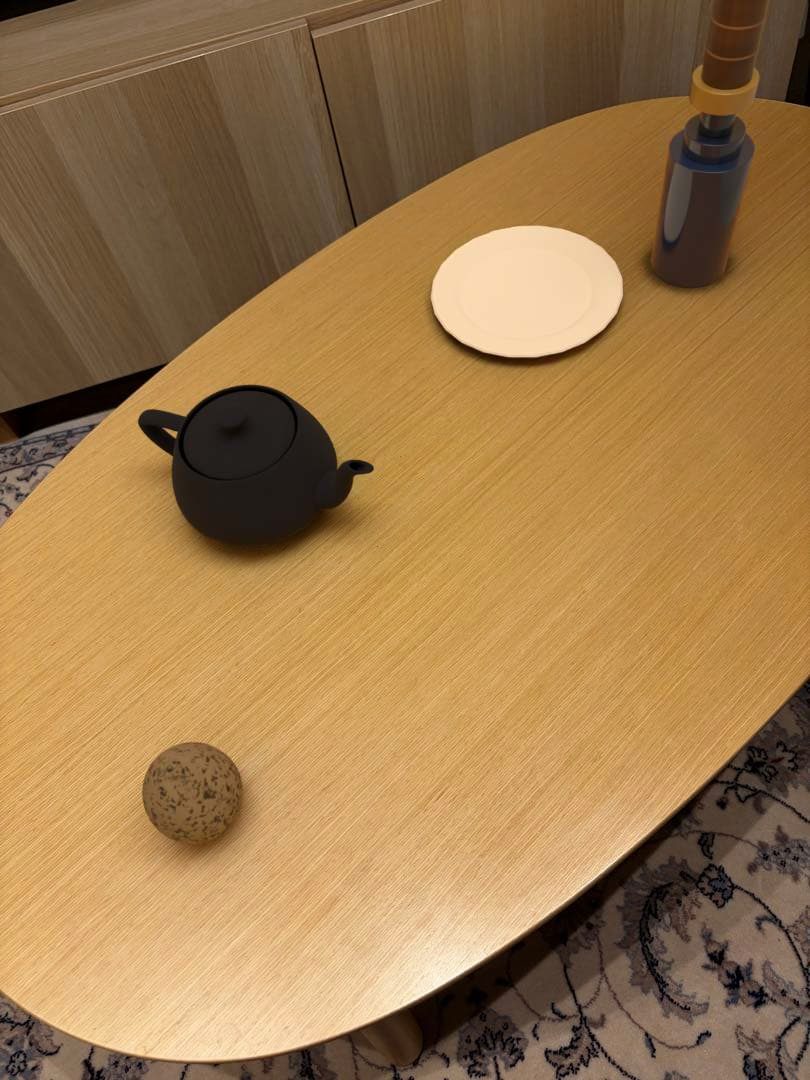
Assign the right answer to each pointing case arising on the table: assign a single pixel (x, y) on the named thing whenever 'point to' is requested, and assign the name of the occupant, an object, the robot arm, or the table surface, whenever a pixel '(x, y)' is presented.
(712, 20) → the brown ridged cylinder
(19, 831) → the table surface
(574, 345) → the plate
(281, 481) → the teapot
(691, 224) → the bottle
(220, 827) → the decorative egg
